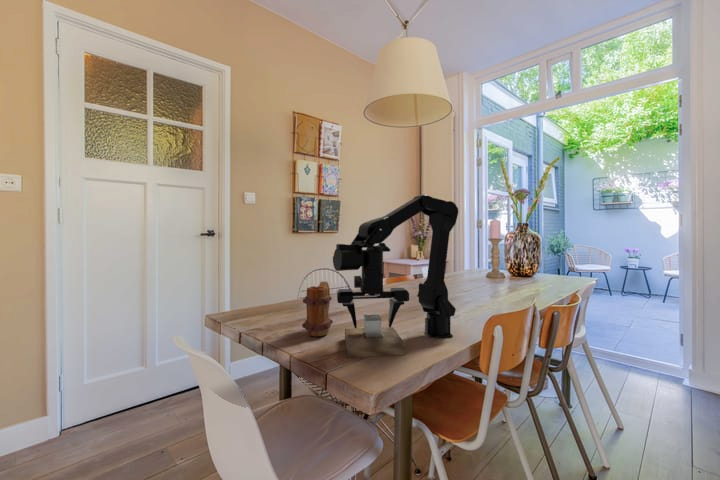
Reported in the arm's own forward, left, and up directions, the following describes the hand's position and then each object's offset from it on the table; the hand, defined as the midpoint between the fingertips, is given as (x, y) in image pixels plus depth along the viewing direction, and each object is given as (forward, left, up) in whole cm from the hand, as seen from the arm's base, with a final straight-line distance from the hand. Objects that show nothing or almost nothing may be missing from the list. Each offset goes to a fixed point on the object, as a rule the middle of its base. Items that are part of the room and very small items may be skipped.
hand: (372, 327), depth 87 cm
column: (0, 0, -5) cm, 5 cm away
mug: (+14, -15, -5) cm, 21 cm away
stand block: (0, 0, -5) cm, 5 cm away
